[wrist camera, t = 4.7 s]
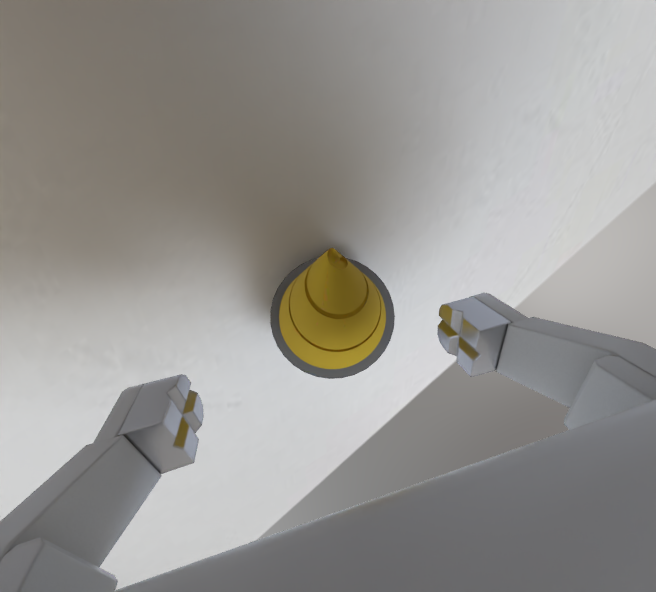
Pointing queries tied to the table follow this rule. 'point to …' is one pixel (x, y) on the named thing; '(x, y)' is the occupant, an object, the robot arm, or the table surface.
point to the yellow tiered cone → (332, 316)
